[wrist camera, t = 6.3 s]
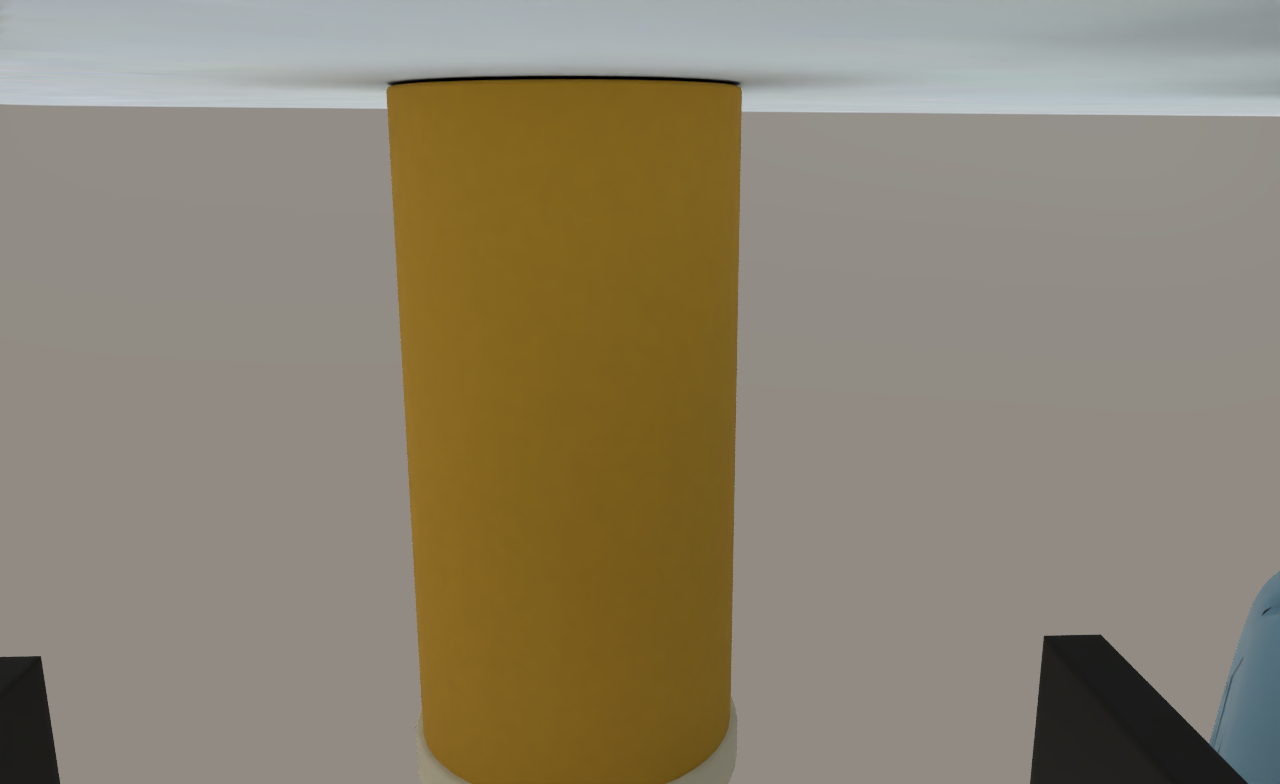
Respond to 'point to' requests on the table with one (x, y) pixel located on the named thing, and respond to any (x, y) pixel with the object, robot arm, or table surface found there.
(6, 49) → the table surface
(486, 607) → the rain boot
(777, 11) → the table surface
